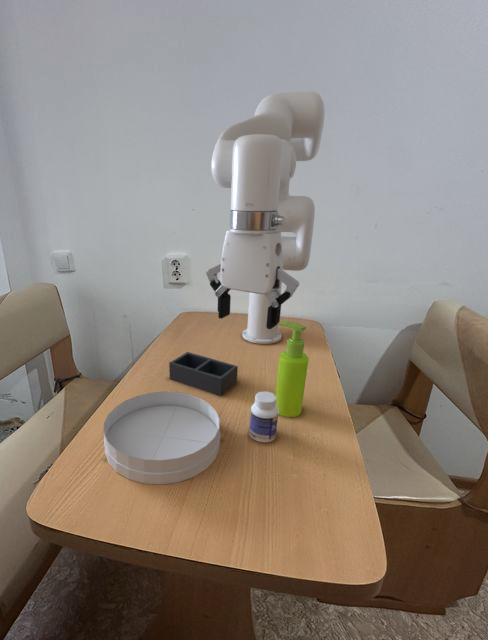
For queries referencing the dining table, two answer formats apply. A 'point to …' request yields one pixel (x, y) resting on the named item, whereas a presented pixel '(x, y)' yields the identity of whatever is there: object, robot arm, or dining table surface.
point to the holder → (203, 373)
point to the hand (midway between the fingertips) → (247, 321)
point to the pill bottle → (264, 417)
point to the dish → (161, 437)
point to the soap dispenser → (291, 373)
